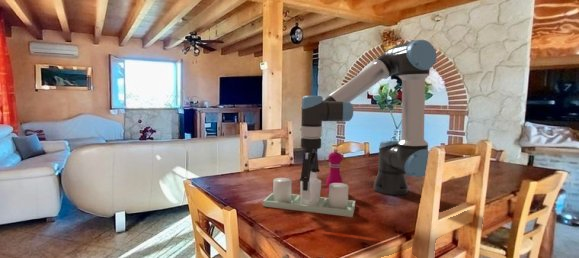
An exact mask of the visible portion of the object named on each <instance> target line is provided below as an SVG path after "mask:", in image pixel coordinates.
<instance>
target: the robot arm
mask: <svg viewBox="0 0 579 258" xmlns="http://www.w3.org/2000/svg"><path fill="white" fill-rule="evenodd" d="M436 61H437V51H436V49H435V47H434V45H433V44H432V43H431V41H428V40H425V39H415V40H411V41H408V42H404V43H399V44H396V45H393V46H392V47H391V48H389V49H387V50H386V51H385V52H384V53H383V52H382V54H380V55H379V56H378V57H377V58H375V59H374V60H373V61H372V63H371V65H369V66H368V67H367V68H365V69H364V70H362V71H361V72H360V73H358V74H356V75H355V76H354V77H352V78H351V79H350V80H349V81H347V82H346V83H344V84H342V86H340V87H339V88H337V89H336V90H334V91H333V92H331V93H330V94H329V95H328V96H326V97H325V98H323V96H321V95H304V96H303V97H302V100H301V101H302V102H301V106H300V107H301V126H300V128H299V130H300V131H301V133H300V136H301V138H300V147H301V148H302V149H304V150H305V152H303V154H302V156H303V159H302V165H301V173H300V178H299V181H302V199H310V181H309V179H310V178H317V179H318V173H319V172H320V169H319V160H318V159H319V157H318V150H320V149H321V148H322V135H323V132H322V131H323V127H322V125H323V122H342V123H344V122H349V121H351V120H352V118H353V117H354V106H353V104H352V103H351V102H352V101H354V100H355V99H357V98H358V97H359V96H360V95H362V94H364V93H365V92H366V91H368V90H369V89H371V88H372V87H373V86H375V85H376V84H377V83H378V82H380V81H381V80H382V79H384V80H386V79H389V78H390V77H391V76H393V75H396V74H397V76H398V78H399V79H400V80H401V137H400V140H382V141H380V143H379V146H378V147H379V148H378V168H377V169H378V172H377V174H376V177H375V179H374V183H373V190H374V191H375V192H378V193H380V194H385V195H390V196H401V195H402V196H403V195H406V194H408V193H409V185H408V181H407V177H406V175H407V176H409V177H414V178H422V177H425V176H426V175H425V170H426V164H427V158H428V151H429V143H428V141H426V139H425V106H426V105H425V101H426V79H427V78H428V77H429V76H430V69H432V68H433V67H434V65H435V63H436Z"/></svg>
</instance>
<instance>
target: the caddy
mask: <svg viewBox="0 0 579 258" xmlns="http://www.w3.org/2000/svg"><path fill="white" fill-rule="evenodd" d="M300 196H301V194H295V193H291V203H283V202H275V201H273V192H271V193H270V194H269V195H268V196H267V197H265V198H264V199H263V200H262V207H267V208H276V209H282V210H283V209H284V210H291V211H299V212H300V211H301V212H307V213H316V214H324V215H333V216H341V217H347V218H348V217H350V218H353V216H354V214H355V213H354V212H355V209H356V208H355V207H356V200H351V199H350V200H349V199H348V210H344V209H335V208H328V206H329V197H322V196H320V200H319V206H309V205H301V197H300Z"/></svg>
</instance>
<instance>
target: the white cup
mask: <svg viewBox="0 0 579 258" xmlns="http://www.w3.org/2000/svg"><path fill="white" fill-rule="evenodd" d="M299 181H300V180H299ZM309 181H310V199H302V181H300V185H299V186H300V189H299V190H300V194H299V195H301V196H300V197H301V205H309V206H319V200H320V197H321V192H322V191H321V189H322V180H321V179H319V178H318V177H317V178H310V179H309Z"/></svg>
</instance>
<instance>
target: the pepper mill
mask: <svg viewBox="0 0 579 258" xmlns="http://www.w3.org/2000/svg"><path fill="white" fill-rule="evenodd" d="M327 158H328V161H329V163H328V164H329V174H328V176H327V179H326V183H325V186H326V187H327V189H326V192H327V193H328V194H329V184H331V183H343V179H342V176H341V170H340V169H341V167H342V166H341V165H342V164H341V163H342V161H343V155H342V153H340V152H338V148H334V149H333V151H332V152H330V153H329V155H328V157H327ZM343 184H344V183H343Z"/></svg>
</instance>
